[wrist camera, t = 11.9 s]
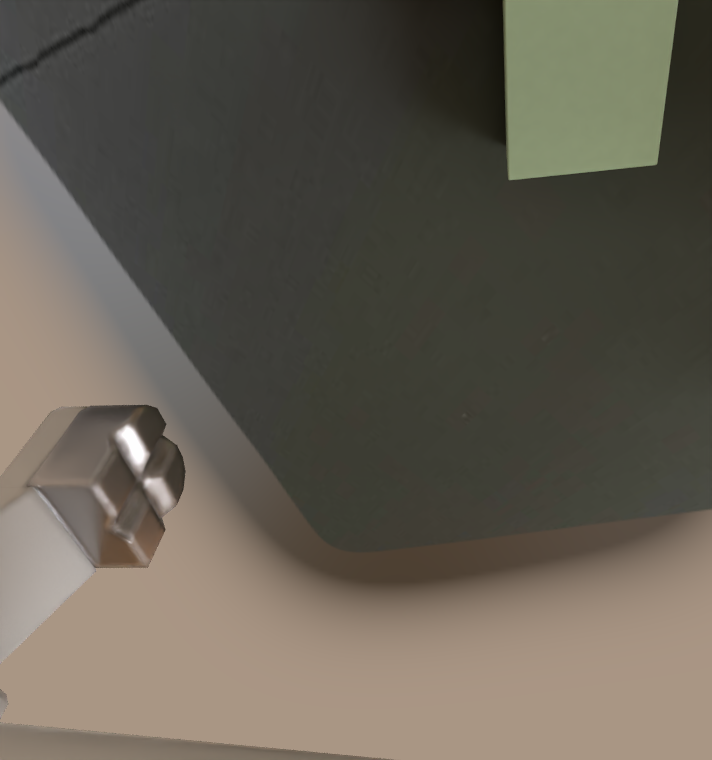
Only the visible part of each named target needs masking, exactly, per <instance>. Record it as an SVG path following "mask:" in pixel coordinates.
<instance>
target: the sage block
mask: <svg viewBox="0 0 712 760" xmlns="http://www.w3.org/2000/svg"><path fill="white" fill-rule="evenodd" d="M677 7H678V0H503V31H504V73H505V116H506V151H507V168H508V180H516V179H526V178H535V177H545V176H555V175H564V174H574V173H583V172H593V171H603V170H612V169H622V168H631V167H641V166H651V165H657V161H658V153H659V146H660V138H661V130H662V123H663V115H664V107H665V99H666V92H667V84H668V76H669V69H670V61H671V53H672V45H673V38H674V30H675V22H676V15H677Z"/></svg>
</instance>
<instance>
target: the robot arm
mask: <svg viewBox="0 0 712 760" xmlns="http://www.w3.org/2000/svg"><path fill="white" fill-rule="evenodd" d="M165 426H166V423H165V421H164V419H163V418H162V416H161V414H160V412H159V411H158V409H157V408H155V407H152V406H149V405H113V406H89V407H61V408H58V409H56V410H54V411H52V412H50V413H49V415H48V416H47V417H46V419H45V420H44V421H43V422H42V424H41V425H40V426H39V428H38V429H37V430H36V431H35V433H34V434H33V435H32V437H31V438H30V439H29V440H28V442H27V443H26V444H25V446H24V447H23V448H22V449H21V451H20V452H19V453H18V455H17V456H16V457H15V459H14V460H13V461H12V462H11V464H10V465H9V466H8V467H7V469H6V470H5V471H4V473H3V474H2V475H1V477H0V664H1V663H2V661H4V660H5V659H6V658H7V657H8V656H9V655H10V654H11V653H12V652H13V651H14V650H15V649H16V648H17V647H18V646H19V645H20V644H21V643H22V642H23V641H24V640H25V639H26V638H27V637H28V636H29V635H30V634H32V633H33V631H34V630H36V629H37V628H38V627H39V626H40V625H41V624H42V623H43V622H44V621H45V620H46V619H47V618H48V617H49V616H50V615H51V614H52V613H53V612H54V611H55V610H56V609H57V608H58V607H59V606H61V605H62V604H63V603H64V602H65V601H66V600H67V599H68V598H69V597H70V596H71V595H72V594H73V593H74V592H75V591H76V590H77V589H78V588H79V587H80V586H81V585H82V584H83V583H84V582H85V581H86V580H87V579H88V578H90V577H91V576H92V574H94V573H95V572H96V569H95V568H148V566H149V564H150V562H151V560H152V557H153V555H154V553H155V551H156V549H157V547H158V545H159V542H160V540H161V538H162V536H163V534H164V532H165V527H164V523H163V520H162V517H163V516H164V515H165V514H166V513H168V512H169V511H170V510H171V509H173V508H174V507H175V506H176V505H177V503H178V501H179V499H180V496H181V494H182V492H183V488H184V479H185V466H184V461H183V457H182V455H181V453H180V451H179V449H178V447H177V445H175V444H174V443H173V442H172V441H170V440H169V439H167V438H166V437H165V436H163V432H164V429H165ZM7 705H8V701H7V696H6V694H5V693H4V692H3V691H2V690H0V718H1V716H2V715H3V713H4V711H5V709H6V707H7ZM0 760H390V759H381V758H369V757H359V756H348V755H339V754H328V753H317V752H307V751H296V750H286V749H276V748H265V747H255V746H244V745H234V744H223V743H212V742H202V741H191V740H181V739H170V738H159V737H149V736H138V735H128V734H116V733H107V732H96V731H86V730H74V729H65V728H53V727H43V726H33V725H22V724H12V723H1V722H0ZM391 760H392V759H391Z"/></svg>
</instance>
